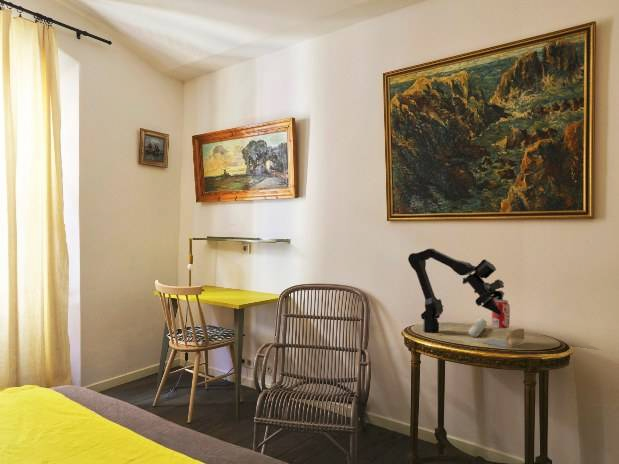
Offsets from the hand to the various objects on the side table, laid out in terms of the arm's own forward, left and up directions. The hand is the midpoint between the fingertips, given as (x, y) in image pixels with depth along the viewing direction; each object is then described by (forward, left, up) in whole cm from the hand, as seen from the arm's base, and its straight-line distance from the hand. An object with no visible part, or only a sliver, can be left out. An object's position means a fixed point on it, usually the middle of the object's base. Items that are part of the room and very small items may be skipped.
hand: (503, 313), depth 188 cm
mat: (-1, 0, -13) cm, 13 cm away
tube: (-5, +23, -14) cm, 27 cm away
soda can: (-1, +1, -7) cm, 7 cm away
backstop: (+4, -1, -13) cm, 14 cm away
